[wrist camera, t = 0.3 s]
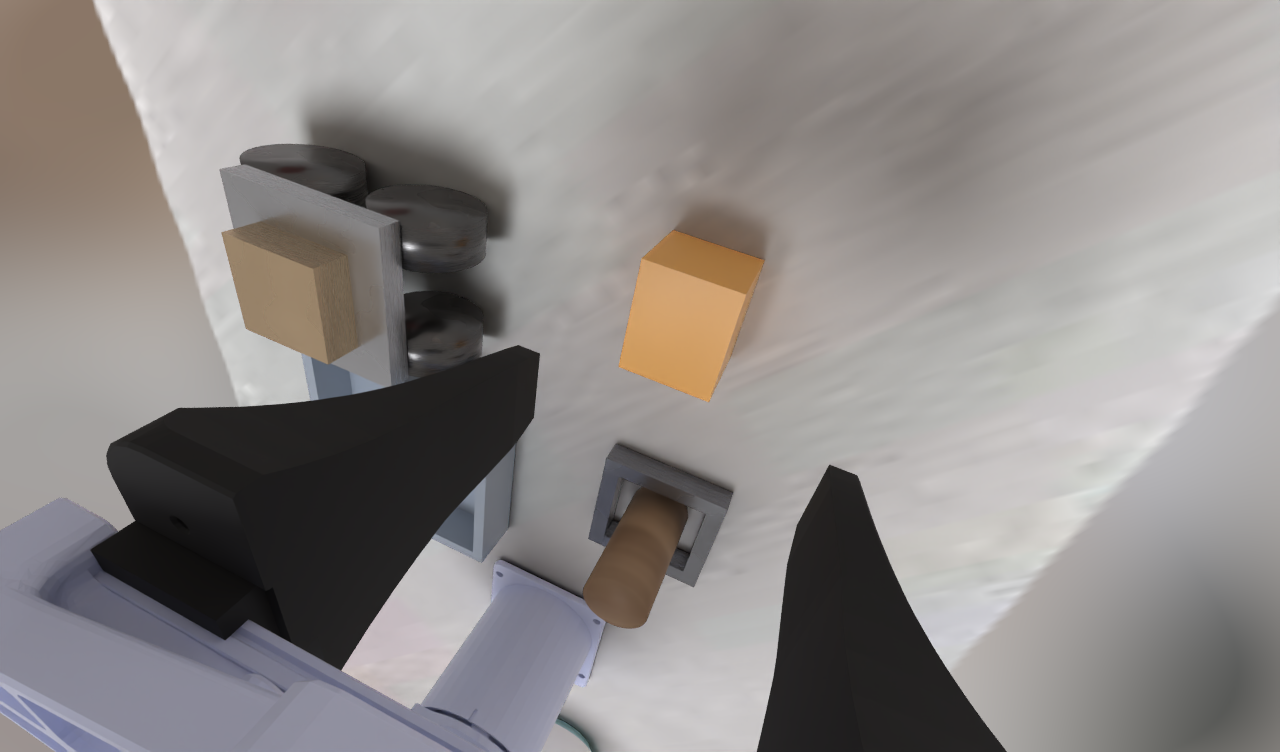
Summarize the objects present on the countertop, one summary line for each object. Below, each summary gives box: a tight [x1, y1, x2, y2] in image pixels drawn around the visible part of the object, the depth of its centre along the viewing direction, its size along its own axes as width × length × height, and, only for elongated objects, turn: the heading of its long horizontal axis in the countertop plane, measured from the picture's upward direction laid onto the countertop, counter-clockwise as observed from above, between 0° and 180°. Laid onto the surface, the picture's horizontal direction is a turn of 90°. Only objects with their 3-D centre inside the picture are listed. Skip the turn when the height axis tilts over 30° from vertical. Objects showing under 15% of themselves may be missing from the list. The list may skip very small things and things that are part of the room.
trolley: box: [220, 144, 487, 387], centre depth 23 cm, size 7×10×7 cm
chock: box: [619, 230, 765, 402], centre depth 20 cm, size 4×4×4 cm
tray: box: [302, 354, 516, 563], centre depth 30 cm, size 11×11×3 cm
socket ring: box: [588, 444, 733, 587], centre depth 28 cm, size 6×6×1 cm
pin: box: [583, 487, 688, 629], centre depth 26 cm, size 3×3×6 cm
